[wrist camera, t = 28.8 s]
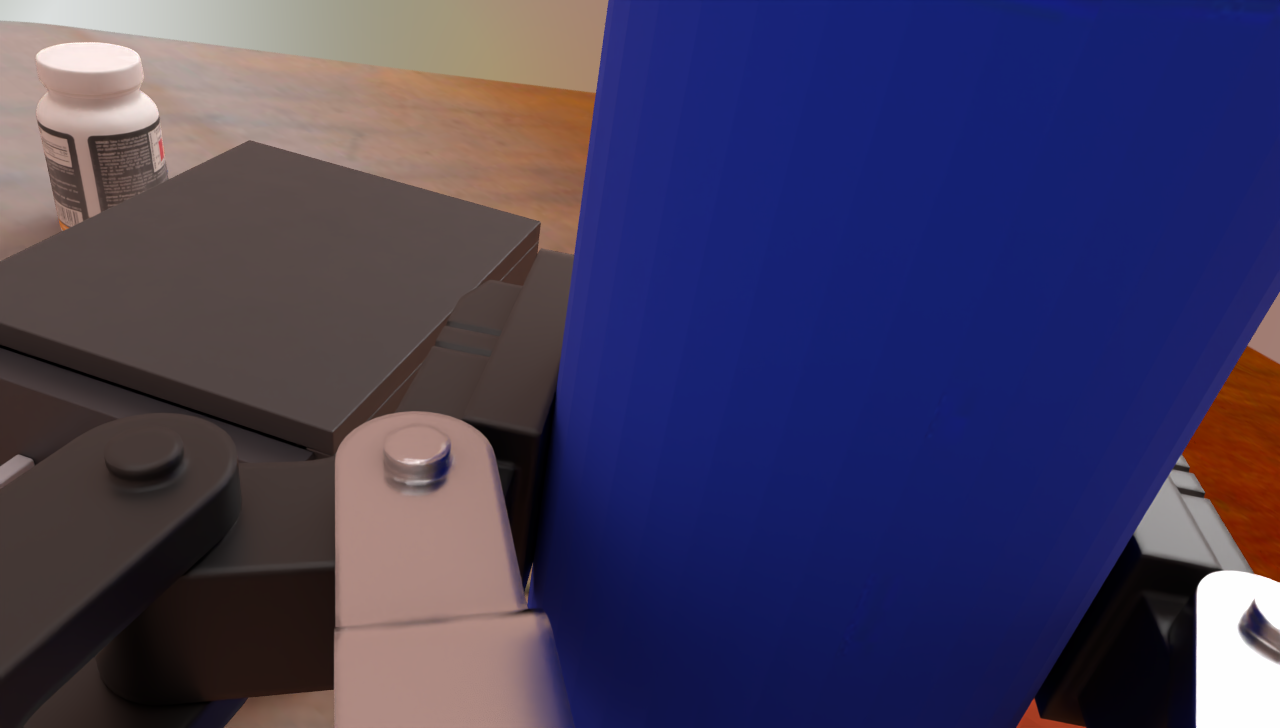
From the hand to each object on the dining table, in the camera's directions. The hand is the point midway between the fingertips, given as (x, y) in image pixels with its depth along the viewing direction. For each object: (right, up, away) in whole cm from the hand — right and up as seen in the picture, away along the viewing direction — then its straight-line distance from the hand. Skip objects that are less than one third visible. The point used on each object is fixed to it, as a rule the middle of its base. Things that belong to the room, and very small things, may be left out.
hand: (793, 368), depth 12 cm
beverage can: (-2, -9, +3) cm, 9 cm away
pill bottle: (-31, +7, +42) cm, 53 cm away
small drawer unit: (-16, -4, +28) cm, 33 cm away
